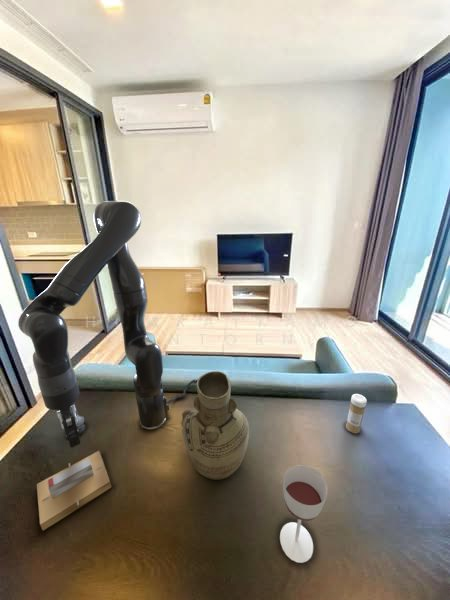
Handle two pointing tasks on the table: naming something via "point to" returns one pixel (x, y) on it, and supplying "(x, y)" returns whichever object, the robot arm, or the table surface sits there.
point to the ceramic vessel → (215, 428)
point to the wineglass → (301, 509)
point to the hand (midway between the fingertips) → (72, 434)
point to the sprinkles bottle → (356, 413)
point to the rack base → (71, 493)
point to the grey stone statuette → (80, 422)
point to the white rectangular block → (70, 478)
